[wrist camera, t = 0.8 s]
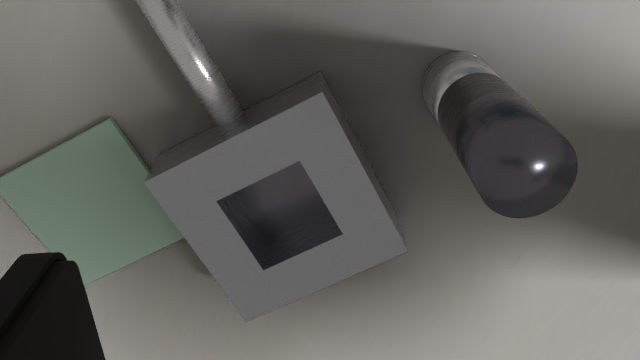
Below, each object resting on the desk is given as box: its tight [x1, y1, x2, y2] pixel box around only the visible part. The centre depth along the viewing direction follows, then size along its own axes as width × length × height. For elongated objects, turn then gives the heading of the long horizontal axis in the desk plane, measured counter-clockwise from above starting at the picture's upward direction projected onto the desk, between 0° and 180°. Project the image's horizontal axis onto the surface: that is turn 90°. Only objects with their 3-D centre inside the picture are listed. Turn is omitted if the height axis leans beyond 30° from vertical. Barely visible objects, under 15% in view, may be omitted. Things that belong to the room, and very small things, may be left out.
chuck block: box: [135, 0, 408, 322], centre depth 30 cm, size 18×10×4 cm, turn 27°
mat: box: [0, 117, 184, 286], centre depth 33 cm, size 8×8×1 cm
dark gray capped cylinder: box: [422, 51, 577, 218], centre depth 26 cm, size 4×4×11 cm
